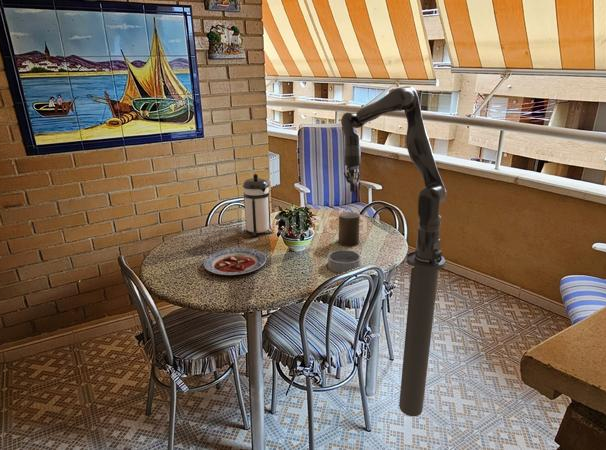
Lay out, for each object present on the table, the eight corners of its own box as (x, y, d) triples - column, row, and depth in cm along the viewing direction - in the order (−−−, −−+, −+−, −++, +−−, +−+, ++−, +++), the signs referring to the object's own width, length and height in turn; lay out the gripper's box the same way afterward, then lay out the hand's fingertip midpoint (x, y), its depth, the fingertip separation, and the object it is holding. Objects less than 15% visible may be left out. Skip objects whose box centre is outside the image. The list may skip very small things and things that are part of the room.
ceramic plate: (248, 283, 155) (248, 276, 154) (191, 273, 164) (190, 267, 163) (276, 257, 178) (276, 251, 177) (224, 249, 186) (224, 243, 185)
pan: (366, 266, 168) (367, 256, 167) (345, 276, 160) (345, 266, 159) (342, 256, 178) (343, 247, 176) (321, 266, 169) (321, 256, 168)
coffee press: (277, 227, 213) (275, 170, 203) (267, 238, 199) (265, 178, 188) (246, 225, 217) (242, 169, 207) (234, 235, 202) (230, 176, 192)
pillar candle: (354, 247, 187) (355, 216, 182) (334, 243, 192) (335, 213, 186) (362, 240, 195) (363, 210, 190) (343, 237, 200) (344, 207, 194)
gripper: (352, 154, 188) (352, 192, 190) (366, 155, 199) (366, 191, 200) (338, 155, 193) (338, 192, 195) (352, 156, 203) (353, 191, 205)
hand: (352, 191), depth 198 cm, fingers closed
